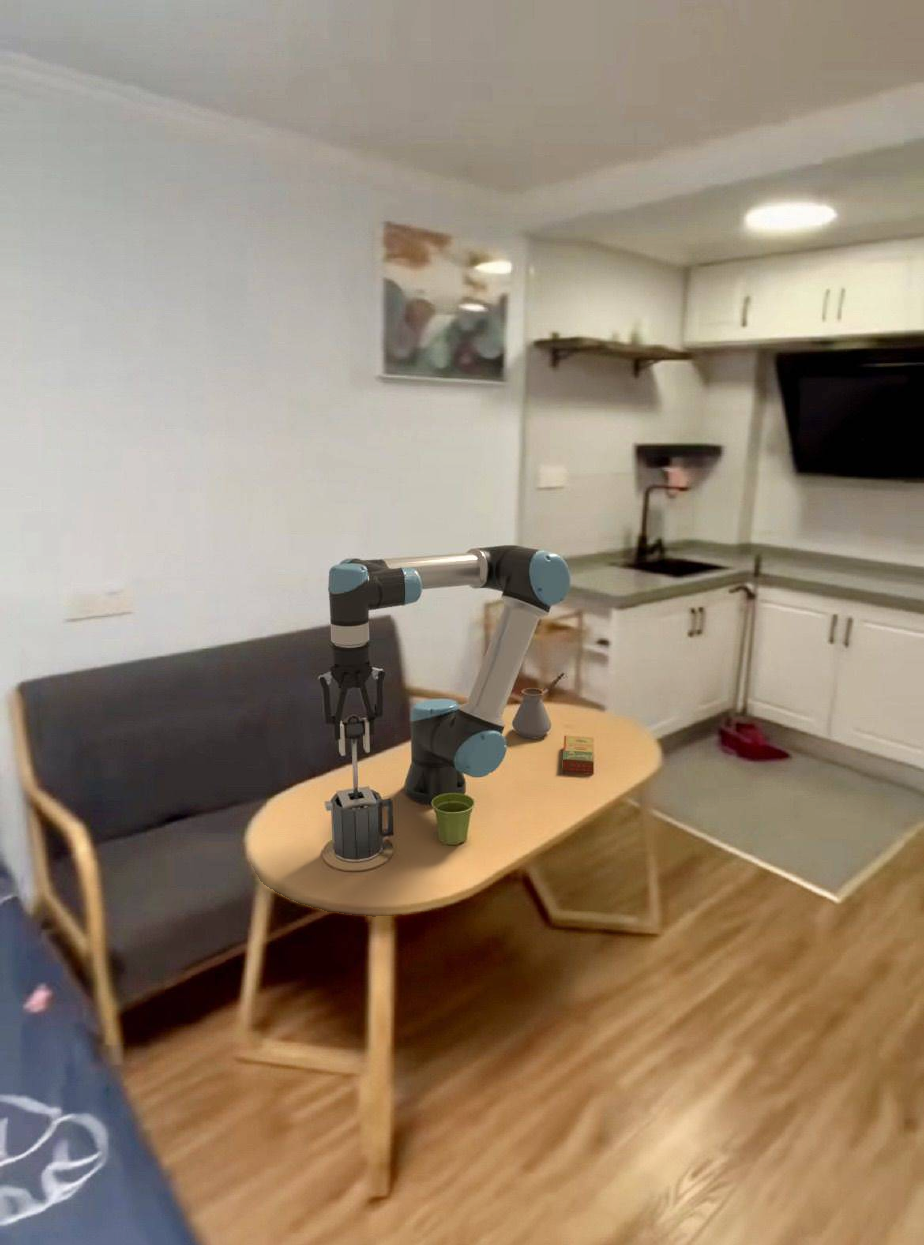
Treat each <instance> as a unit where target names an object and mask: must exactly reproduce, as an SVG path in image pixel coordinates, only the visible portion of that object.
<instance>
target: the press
mask: <svg viewBox="0 0 924 1245" xmlns="http://www.w3.org/2000/svg"><path fill="white" fill-rule="evenodd" d="M358 795H359V798H360V799H355V800H350V799H354V791H353V787H352V788H346V789H340V790H336V793H334V795H333V796H332V798H331V799H330V800H326V801H324V807H325V811H326V812H330V813H331V814H330V816H331V818H330V819H331V820H330V821H331V837H332V838H331V840H329V841H328V842H327V843H326V844H325V845H324V847H323V849H322V852H321V853H322V854H321V855H322V859H323V862H324V863H325V864H326V865H327V866H329V867H330V868H332V869H334V870H337V871H342V872H346V873H348V872H349V873H359V872H367V871H371V870H374V869H377V868H380V867H381V866H383V865H385V864H387V863H388V862H389V860H391V858H392V856H394V844H393V843H392V841H391V840H390V839H389V838H388V837H393V836H395V829H394V828H395V826H394V824H395V821H394V800H393V798H392V797H390V798H389V797H388V798H382V796H381V794H380V792H378V791H376V790H373V789H371V788H370V786H369V785H367V786H362V787H358ZM340 805H341V807H340ZM369 805H371V806H369ZM363 806H369V807H366V808H361V809H350V808H356V807H363ZM383 808H386V812H387V813H386V816H387V817H386V818H387V819H386V821H387V823H386V825H387V828H383V825H384V824H383Z"/></svg>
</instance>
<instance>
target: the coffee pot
mask: <svg viewBox="0 0 924 1245" xmlns="http://www.w3.org/2000/svg"><path fill="white" fill-rule="evenodd" d="M564 676H566V677H568V675H567V674H566V673H565V672H561V674H560V675H557V678H555V679H554V680H552V682H551V683H550V684H549V685H548V686H547V687H546V689H545V690H543V689H540V688H537V687H528V688H523V689H522V690H521V691H520V692H521V694H522V696H523V698H522V700H521V702H520V705H519V707H518V709H517V710H516V713H515V715H514V717H513V719H512V723H511V725H512V728H513V729H514V731H515V732H516V733H518V735H519V736H521V737H524V738H528V739H537V738H538V739H539V738H541V737H543V736H545V734H547V733H548V732H549V731H550V729H551V728H552V721H551V719H550V716H549V714H548V712H547V709H546V707H545V704H544V702H543V699H542V698H543V697H544V696H545V695H546V694H547V693H548V692H549V691H550V690H551V689H552V688H553V687H555V685H557V683H558V682H559V680H561V679H562V678H563V679H565V677H564Z"/></svg>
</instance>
